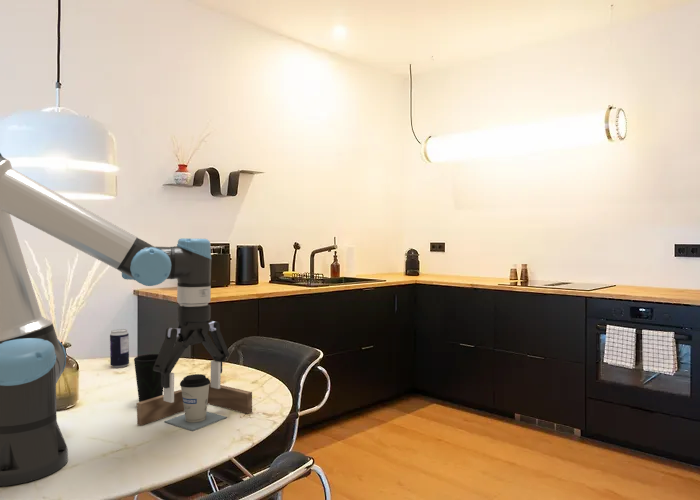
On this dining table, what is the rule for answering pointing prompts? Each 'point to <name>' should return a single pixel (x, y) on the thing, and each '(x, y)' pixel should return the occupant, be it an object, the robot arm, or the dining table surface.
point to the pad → (193, 426)
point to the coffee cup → (195, 397)
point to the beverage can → (119, 348)
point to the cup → (147, 377)
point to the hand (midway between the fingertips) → (193, 394)
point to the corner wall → (161, 409)
